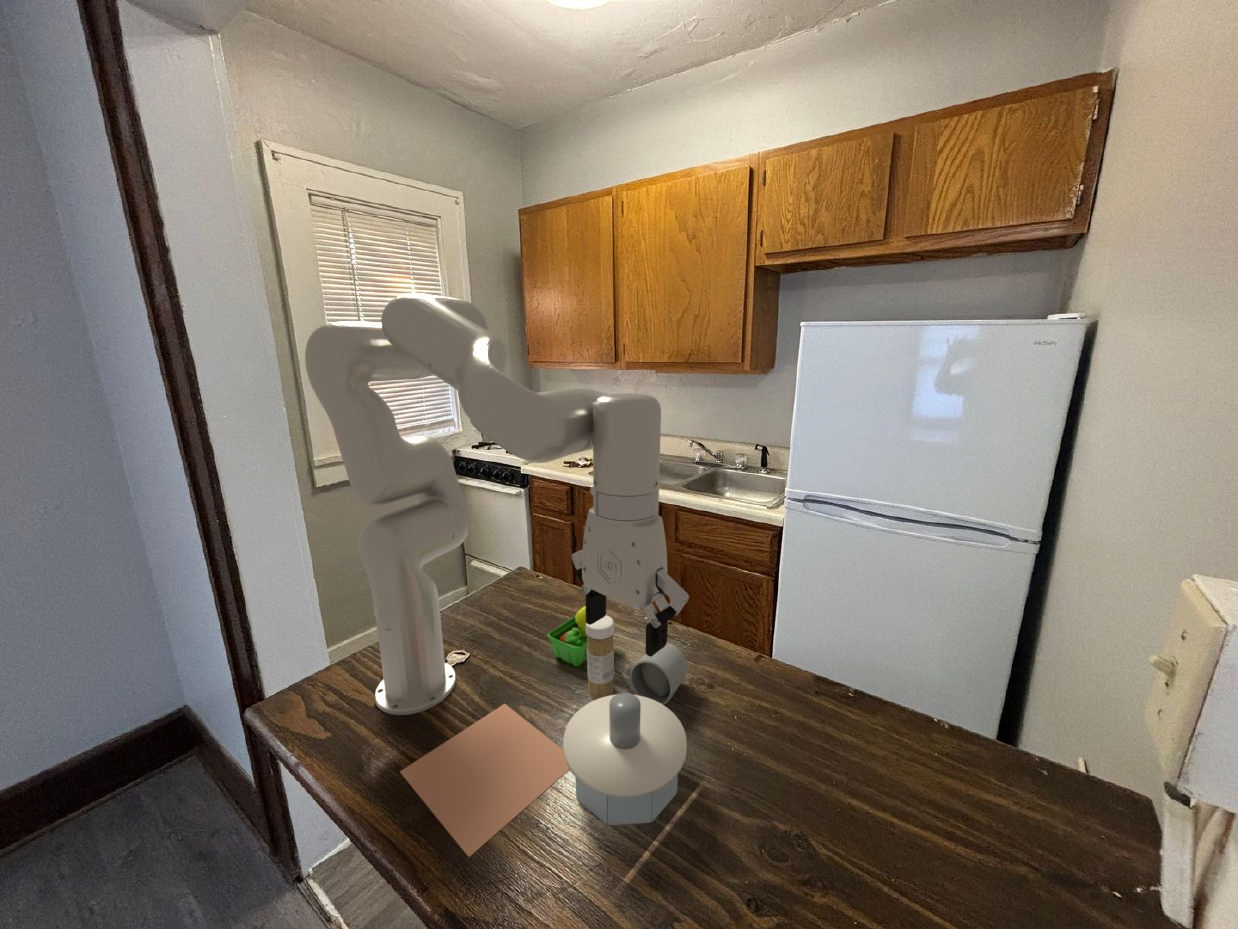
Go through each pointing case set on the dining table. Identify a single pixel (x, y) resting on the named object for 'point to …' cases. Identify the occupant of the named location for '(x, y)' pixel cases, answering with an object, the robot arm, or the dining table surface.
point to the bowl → (626, 804)
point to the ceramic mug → (658, 674)
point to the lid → (625, 745)
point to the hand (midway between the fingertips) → (624, 634)
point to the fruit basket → (571, 639)
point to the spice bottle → (600, 657)
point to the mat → (486, 776)
